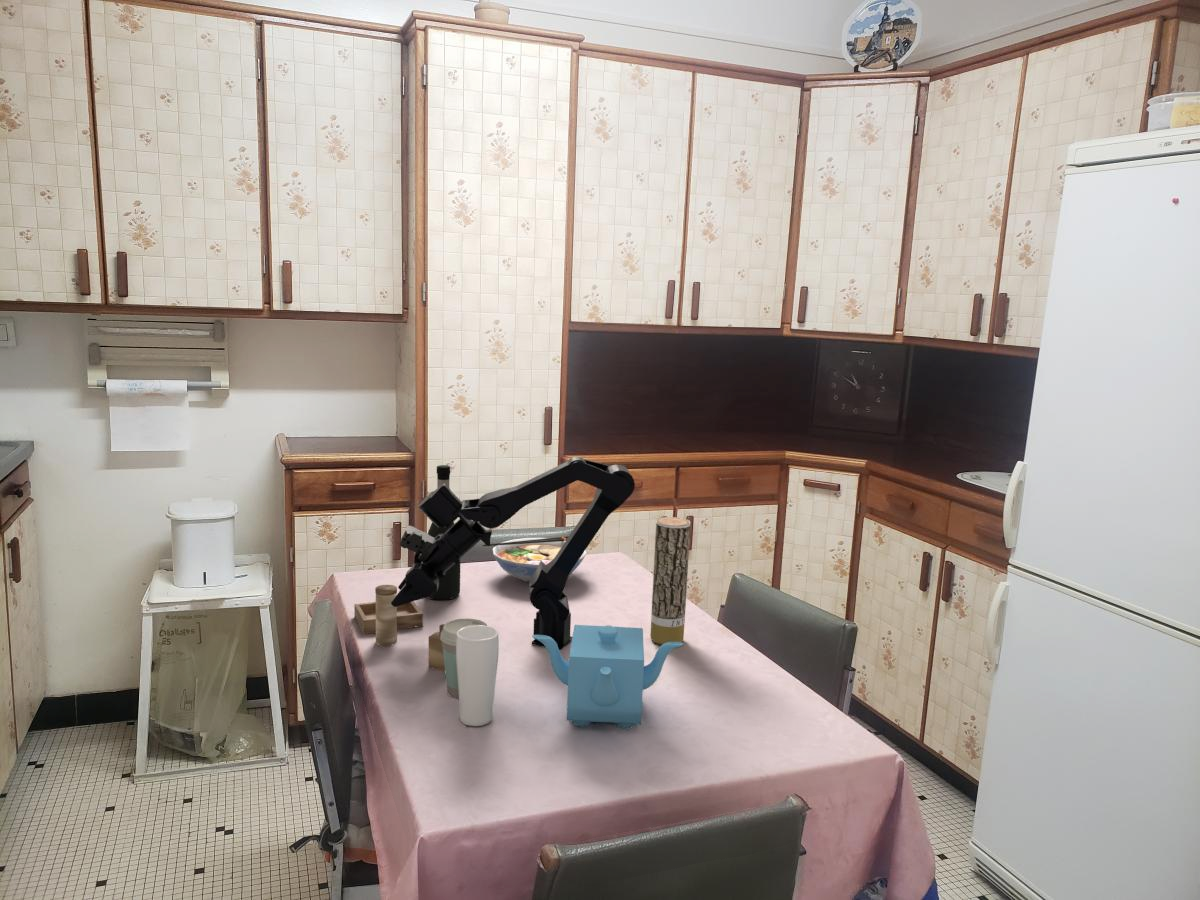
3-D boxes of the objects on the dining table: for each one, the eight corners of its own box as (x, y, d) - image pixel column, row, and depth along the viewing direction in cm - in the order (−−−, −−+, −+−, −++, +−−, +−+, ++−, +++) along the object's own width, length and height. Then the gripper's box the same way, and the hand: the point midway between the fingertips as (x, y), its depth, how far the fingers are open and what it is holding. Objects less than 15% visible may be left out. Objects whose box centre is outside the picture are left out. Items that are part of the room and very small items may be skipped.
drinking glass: (462, 733, 139) (464, 643, 137) (449, 714, 145) (450, 627, 142) (503, 725, 142) (505, 636, 140) (488, 707, 148) (490, 622, 146)
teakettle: (606, 680, 161) (609, 602, 158) (684, 717, 147) (688, 633, 145) (524, 710, 148) (526, 626, 145) (602, 754, 134) (605, 663, 132)
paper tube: (645, 643, 178) (651, 522, 174) (656, 631, 185) (662, 515, 180) (677, 649, 176) (684, 527, 171) (687, 637, 182) (694, 519, 178)
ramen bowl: (500, 599, 200) (501, 564, 199) (477, 569, 221) (477, 537, 220) (603, 590, 209) (605, 557, 208) (571, 562, 230) (572, 531, 229)
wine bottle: (417, 595, 201) (417, 465, 196) (444, 587, 207) (446, 461, 201) (439, 604, 196) (440, 471, 190) (467, 595, 202) (469, 466, 196)
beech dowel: (401, 640, 175) (401, 586, 173) (388, 647, 171) (388, 592, 169) (383, 636, 176) (383, 583, 174) (371, 643, 173) (371, 589, 171)
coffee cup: (479, 705, 149) (481, 638, 146) (431, 699, 150) (432, 632, 148) (495, 684, 157) (497, 620, 155) (450, 678, 158) (450, 614, 156)
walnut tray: (411, 610, 191) (411, 597, 191) (422, 626, 182) (423, 613, 182) (354, 616, 186) (354, 604, 186) (363, 633, 177) (363, 620, 177)
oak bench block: (437, 661, 165) (437, 621, 164) (484, 672, 162) (484, 630, 160) (428, 667, 163) (428, 626, 161) (475, 678, 159) (476, 636, 158)
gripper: (430, 502, 179) (374, 554, 180) (419, 527, 161) (357, 583, 162) (469, 541, 181) (413, 591, 182) (462, 569, 163) (400, 625, 164)
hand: (396, 596), depth 172 cm, fingers open, 9 cm apart
